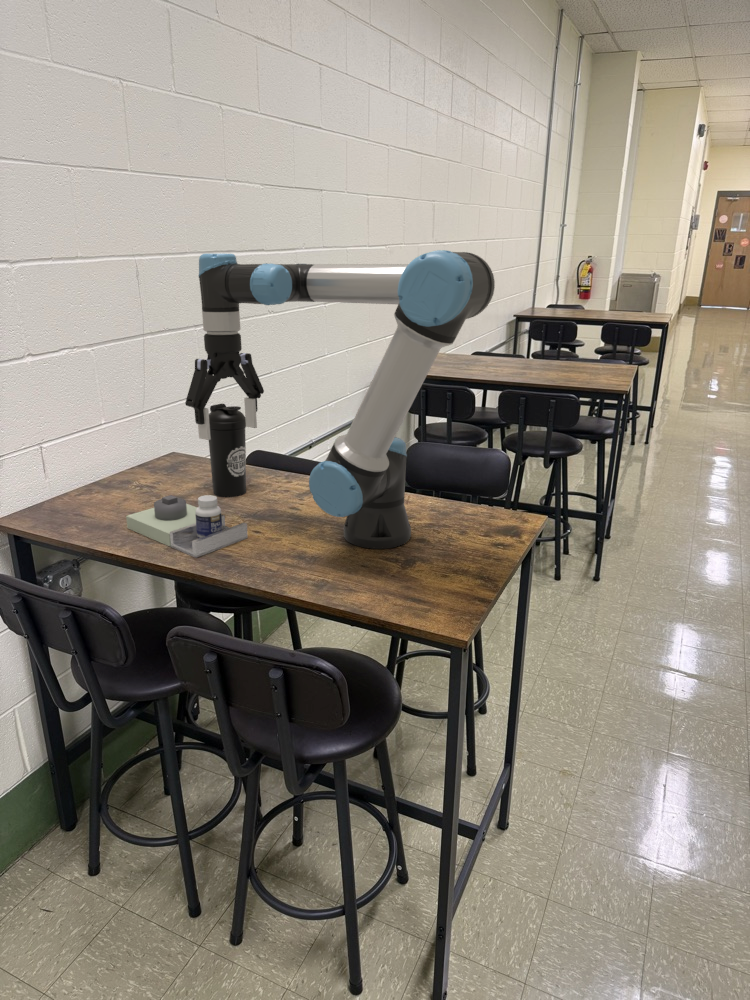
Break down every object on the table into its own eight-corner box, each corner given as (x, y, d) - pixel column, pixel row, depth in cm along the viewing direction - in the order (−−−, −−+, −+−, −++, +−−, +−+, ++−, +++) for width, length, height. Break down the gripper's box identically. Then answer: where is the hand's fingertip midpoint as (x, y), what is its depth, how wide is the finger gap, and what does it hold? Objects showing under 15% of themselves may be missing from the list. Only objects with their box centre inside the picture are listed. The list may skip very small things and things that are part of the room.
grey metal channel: (247, 538, 152) (247, 523, 151) (196, 557, 142) (195, 542, 140) (222, 528, 157) (221, 514, 156) (170, 547, 147) (169, 531, 145)
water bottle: (228, 501, 174) (223, 412, 167) (201, 492, 180) (196, 406, 173) (257, 491, 182) (254, 405, 174) (231, 483, 188) (227, 400, 180)
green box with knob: (221, 528, 157) (220, 498, 155) (170, 546, 147) (167, 515, 144) (178, 512, 166) (176, 483, 164) (127, 528, 156) (124, 498, 154)
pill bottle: (215, 546, 146) (212, 503, 143) (192, 543, 147) (189, 500, 144) (227, 537, 151) (224, 495, 148) (205, 534, 152) (202, 492, 149)
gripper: (252, 327, 154) (257, 420, 161) (161, 336, 135) (171, 441, 141) (277, 329, 150) (281, 424, 157) (186, 338, 130) (195, 447, 137)
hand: (228, 432), depth 149 cm, fingers open, 13 cm apart
